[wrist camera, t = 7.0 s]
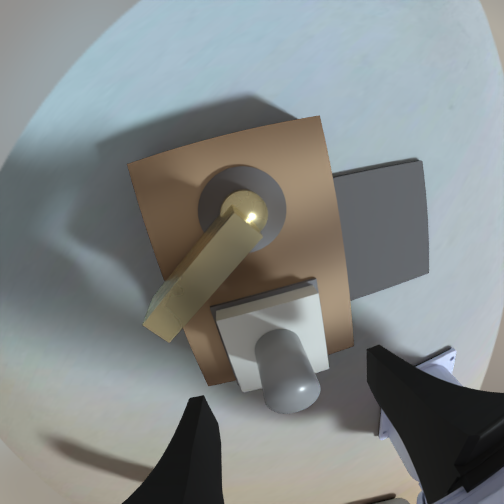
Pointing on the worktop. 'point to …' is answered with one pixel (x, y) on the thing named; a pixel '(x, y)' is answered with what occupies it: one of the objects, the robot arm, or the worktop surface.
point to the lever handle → (208, 263)
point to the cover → (277, 347)
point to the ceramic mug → (394, 501)
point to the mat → (383, 226)
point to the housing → (274, 233)
